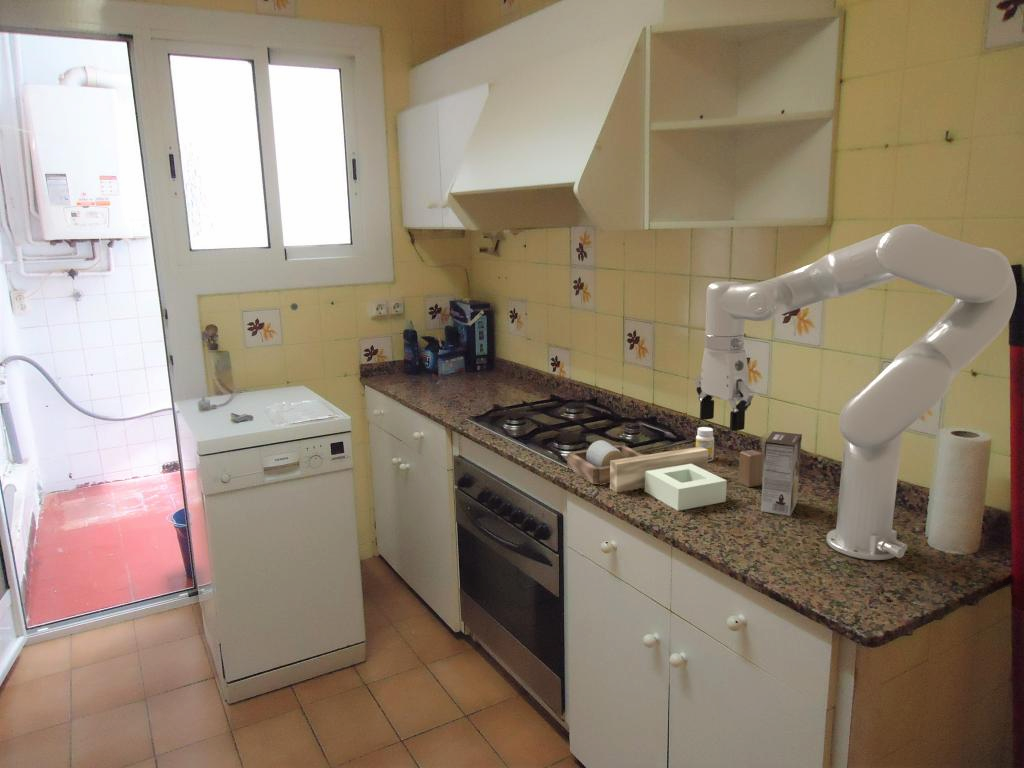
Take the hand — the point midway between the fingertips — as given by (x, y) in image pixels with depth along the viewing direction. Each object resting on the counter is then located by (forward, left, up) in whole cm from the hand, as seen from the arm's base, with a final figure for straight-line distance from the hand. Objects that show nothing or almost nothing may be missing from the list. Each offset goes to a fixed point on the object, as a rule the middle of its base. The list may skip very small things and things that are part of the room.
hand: (721, 424), depth 148 cm
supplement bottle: (+33, -22, -21) cm, 44 cm away
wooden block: (+13, -20, -21) cm, 31 cm away
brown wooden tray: (+35, +6, -20) cm, 41 cm away
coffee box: (-1, -16, -21) cm, 26 cm away
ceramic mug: (+35, +6, -21) cm, 41 cm away
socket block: (+13, -1, -21) cm, 24 cm away
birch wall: (+23, -1, -20) cm, 30 cm away
